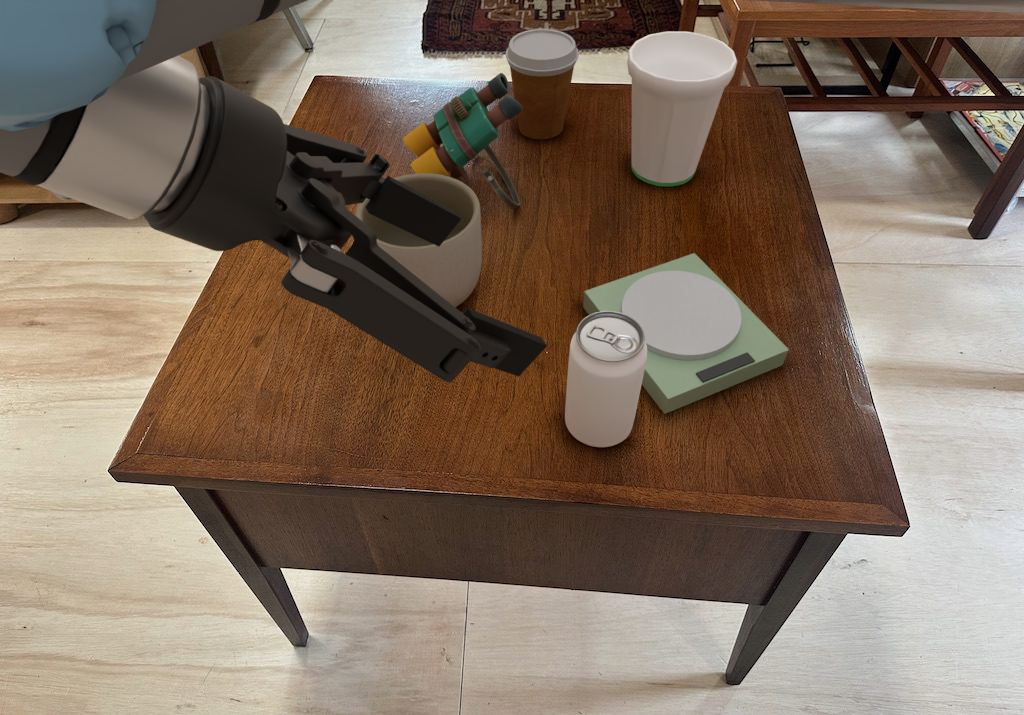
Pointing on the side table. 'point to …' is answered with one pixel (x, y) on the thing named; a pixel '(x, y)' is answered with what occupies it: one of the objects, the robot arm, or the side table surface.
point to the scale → (690, 330)
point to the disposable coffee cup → (541, 79)
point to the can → (604, 378)
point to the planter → (437, 266)
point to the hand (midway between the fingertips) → (486, 288)
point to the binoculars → (466, 136)
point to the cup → (674, 102)
